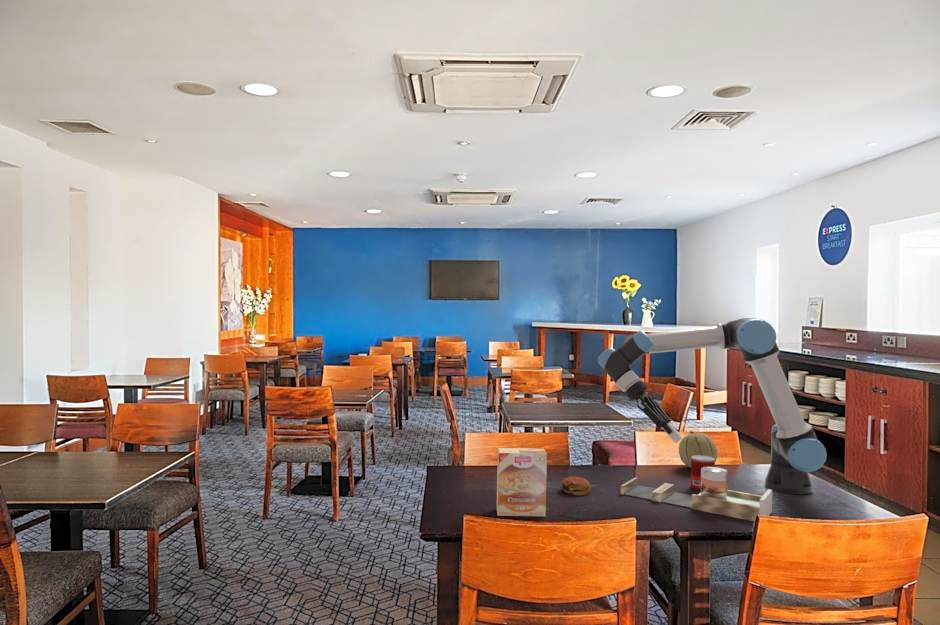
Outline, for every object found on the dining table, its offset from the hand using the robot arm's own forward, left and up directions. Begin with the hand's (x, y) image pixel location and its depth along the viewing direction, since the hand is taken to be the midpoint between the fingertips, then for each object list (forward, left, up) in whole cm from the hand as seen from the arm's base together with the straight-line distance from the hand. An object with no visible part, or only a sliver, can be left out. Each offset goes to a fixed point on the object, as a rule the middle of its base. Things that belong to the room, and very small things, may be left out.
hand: (679, 440), depth 208 cm
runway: (-5, +2, -20) cm, 21 cm away
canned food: (-9, -17, -20) cm, 28 cm away
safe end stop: (-20, +7, -20) cm, 29 cm away
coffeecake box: (+48, +30, -20) cm, 60 cm away
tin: (-11, +4, -17) cm, 21 cm away
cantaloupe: (-10, -44, -20) cm, 50 cm away
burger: (+34, +2, -20) cm, 39 cm away
